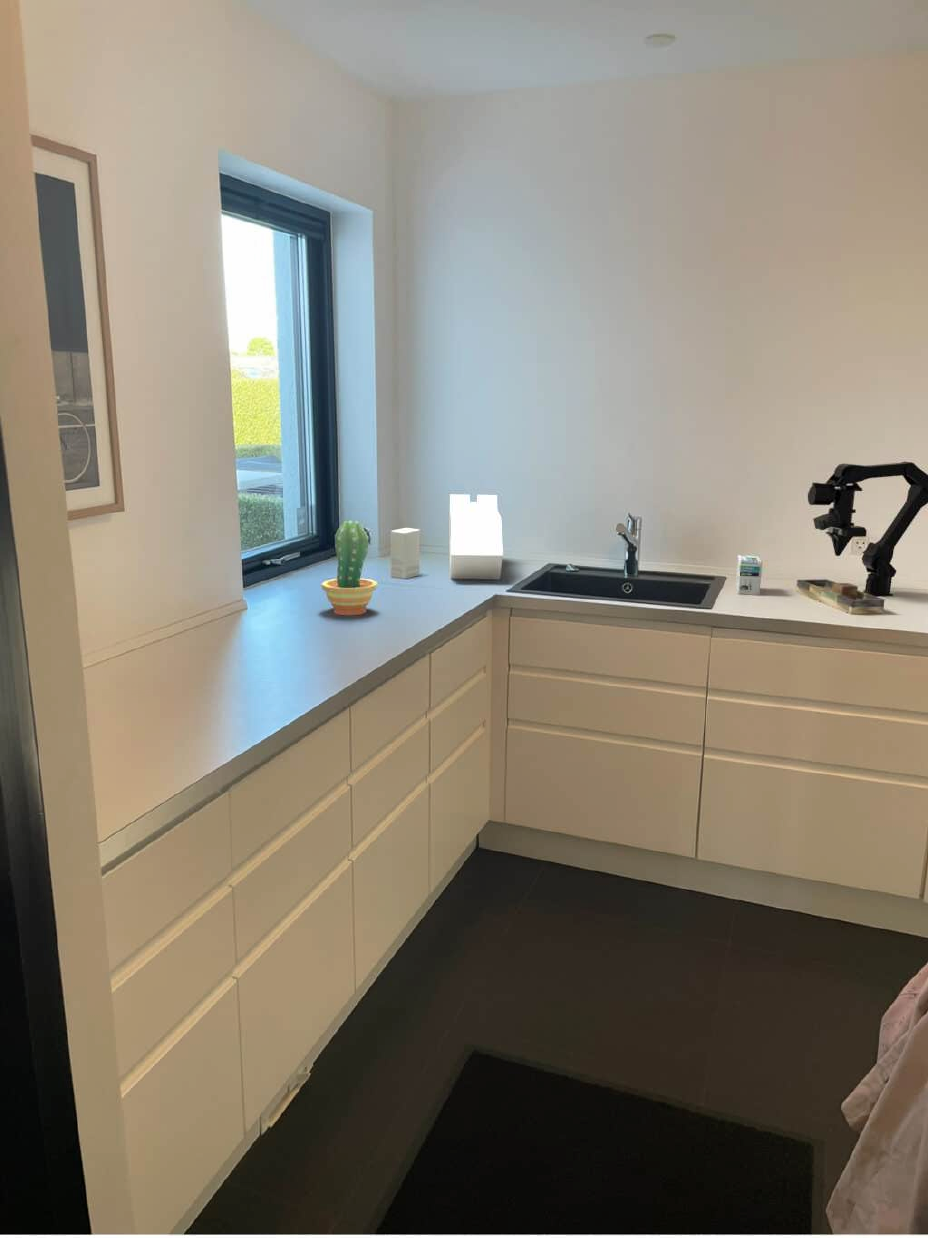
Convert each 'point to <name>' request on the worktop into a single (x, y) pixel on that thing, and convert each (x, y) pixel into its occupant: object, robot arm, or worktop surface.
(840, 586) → the walnut block
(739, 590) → the light bulb box
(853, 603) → the box
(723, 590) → the worktop surface
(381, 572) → the worktop surface
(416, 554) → the skincare box
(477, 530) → the storage box
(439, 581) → the worktop surface
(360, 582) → the potted cactus
